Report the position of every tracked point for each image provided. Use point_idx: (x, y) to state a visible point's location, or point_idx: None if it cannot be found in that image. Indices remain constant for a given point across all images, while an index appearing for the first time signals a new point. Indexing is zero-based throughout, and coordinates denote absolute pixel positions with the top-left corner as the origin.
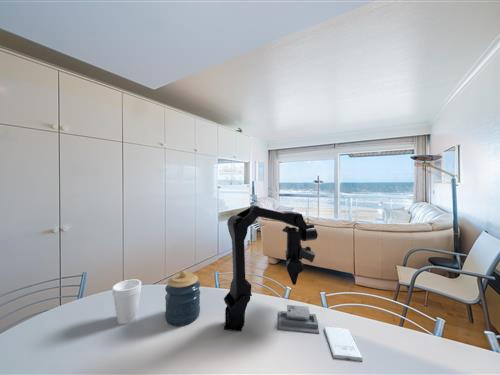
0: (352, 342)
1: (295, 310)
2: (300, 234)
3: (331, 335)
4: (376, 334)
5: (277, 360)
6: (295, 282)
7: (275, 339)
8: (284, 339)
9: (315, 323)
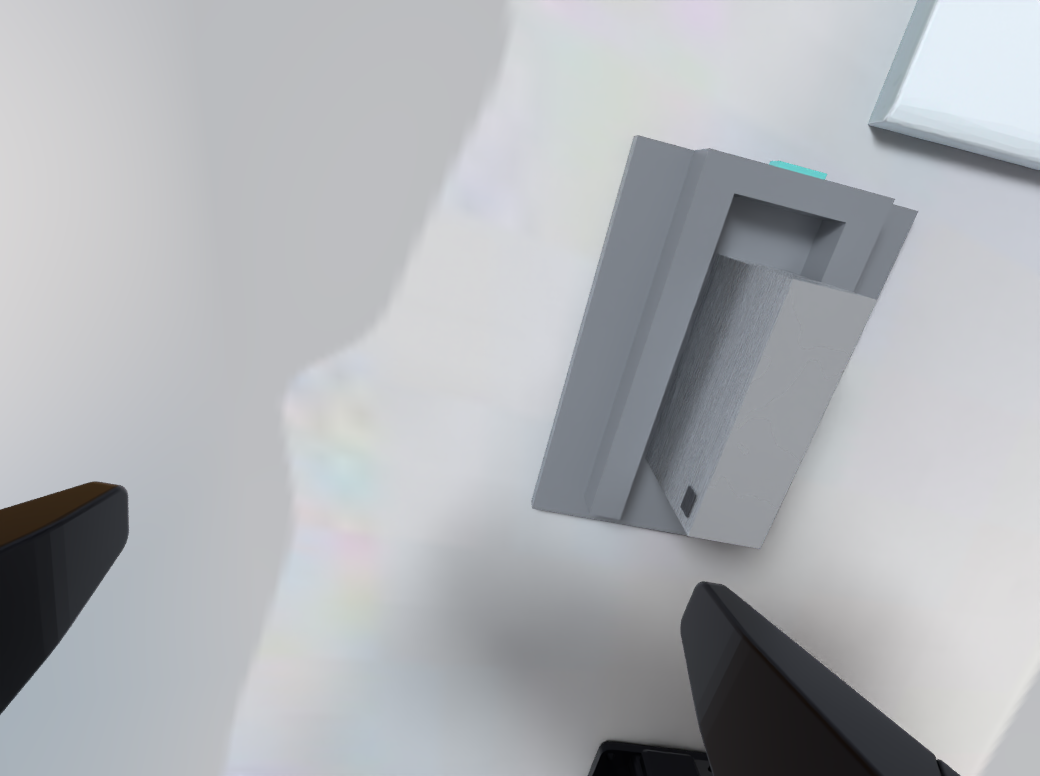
0: None
1: (793, 458)
2: None
3: (1032, 105)
4: None
5: (1016, 590)
6: (765, 638)
7: (849, 576)
8: (869, 519)
9: (863, 222)
